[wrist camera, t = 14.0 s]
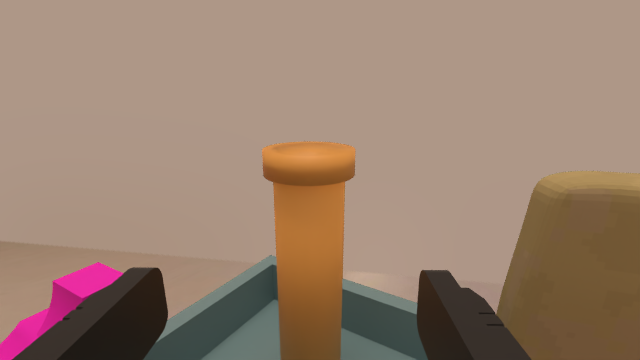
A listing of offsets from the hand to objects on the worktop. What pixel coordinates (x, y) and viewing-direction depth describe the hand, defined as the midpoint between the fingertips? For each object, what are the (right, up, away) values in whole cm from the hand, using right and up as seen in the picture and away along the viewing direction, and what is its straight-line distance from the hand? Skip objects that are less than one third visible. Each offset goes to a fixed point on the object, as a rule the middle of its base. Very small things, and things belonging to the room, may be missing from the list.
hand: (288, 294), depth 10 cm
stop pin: (0, -9, +9) cm, 13 cm away
